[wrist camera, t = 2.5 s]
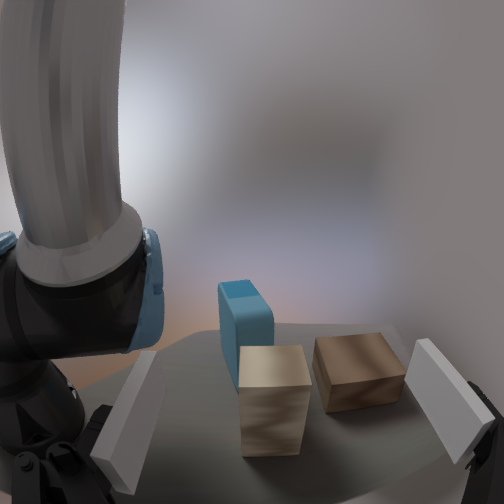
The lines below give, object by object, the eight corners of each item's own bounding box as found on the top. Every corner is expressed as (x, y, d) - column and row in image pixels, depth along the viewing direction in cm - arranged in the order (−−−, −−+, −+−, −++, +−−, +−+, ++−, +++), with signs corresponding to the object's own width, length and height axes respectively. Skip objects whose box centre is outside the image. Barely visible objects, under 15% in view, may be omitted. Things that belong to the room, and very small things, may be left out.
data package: (272, 391, 35) (275, 313, 32) (238, 397, 34) (235, 319, 31) (248, 343, 46) (247, 276, 43) (221, 347, 45) (216, 279, 42)
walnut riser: (325, 413, 31) (331, 384, 29) (312, 365, 40) (315, 337, 39) (397, 401, 31) (408, 373, 29) (373, 359, 40) (380, 332, 39)
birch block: (242, 456, 25) (238, 387, 22) (242, 417, 31) (240, 346, 28) (298, 454, 25) (311, 384, 22) (293, 416, 31) (301, 344, 28)
